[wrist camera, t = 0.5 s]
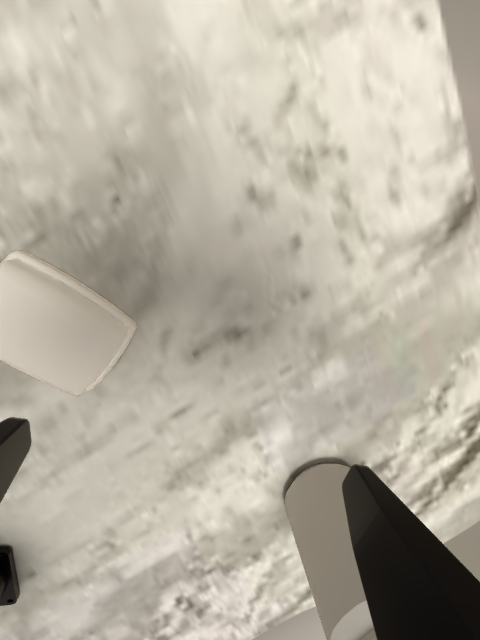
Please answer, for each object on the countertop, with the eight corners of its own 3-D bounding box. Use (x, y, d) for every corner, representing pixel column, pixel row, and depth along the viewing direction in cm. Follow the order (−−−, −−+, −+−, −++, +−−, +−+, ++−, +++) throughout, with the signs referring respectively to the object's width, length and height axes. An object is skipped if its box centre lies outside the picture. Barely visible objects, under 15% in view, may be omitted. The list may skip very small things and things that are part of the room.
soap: (-34, 324, 19) (-72, 341, 16) (19, 240, 18) (-13, 243, 15) (93, 391, 22) (78, 415, 19) (145, 322, 21) (137, 337, 18)
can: (271, 475, 26) (328, 663, 15) (347, 444, 27) (459, 606, 15) (294, 527, 29) (358, 721, 18) (363, 498, 29) (470, 672, 18)
